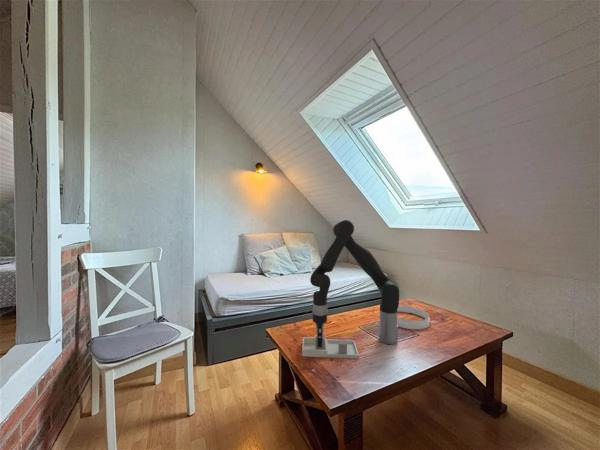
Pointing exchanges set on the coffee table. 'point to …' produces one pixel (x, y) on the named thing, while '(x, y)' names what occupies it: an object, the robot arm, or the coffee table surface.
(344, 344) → the light grey block
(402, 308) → the white ring
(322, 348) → the blue-grey block
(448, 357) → the coffee table surface
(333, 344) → the parts tray
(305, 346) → the open box
